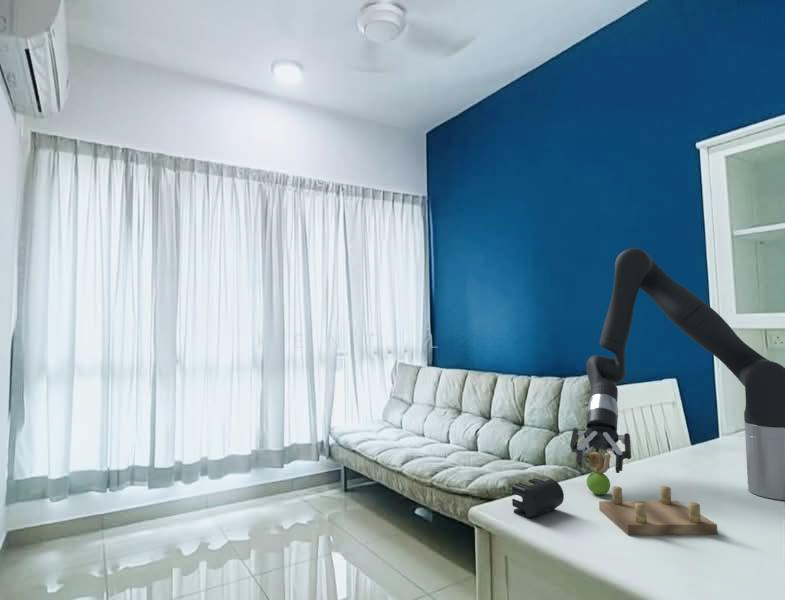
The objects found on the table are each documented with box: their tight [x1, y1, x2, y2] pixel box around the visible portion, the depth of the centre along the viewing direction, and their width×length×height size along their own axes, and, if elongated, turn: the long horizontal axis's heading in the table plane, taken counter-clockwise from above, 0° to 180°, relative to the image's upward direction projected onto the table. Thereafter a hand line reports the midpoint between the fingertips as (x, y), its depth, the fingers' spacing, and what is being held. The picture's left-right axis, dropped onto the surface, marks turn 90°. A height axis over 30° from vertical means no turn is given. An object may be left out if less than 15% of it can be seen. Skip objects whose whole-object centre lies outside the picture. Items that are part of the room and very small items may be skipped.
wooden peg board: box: [598, 485, 718, 536], centre depth 100 cm, size 18×13×6 cm
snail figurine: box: [586, 449, 611, 496], centre depth 117 cm, size 5×6×12 cm
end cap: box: [511, 477, 565, 519], centre depth 106 cm, size 10×7×7 cm
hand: (598, 468), depth 117 cm, fingers open, 8 cm apart
